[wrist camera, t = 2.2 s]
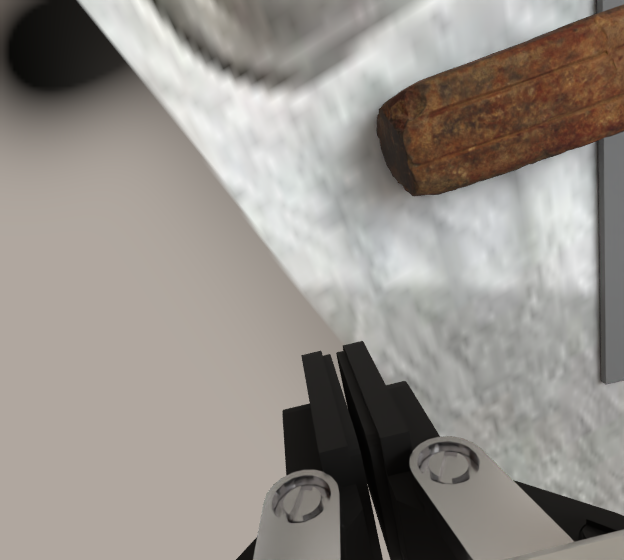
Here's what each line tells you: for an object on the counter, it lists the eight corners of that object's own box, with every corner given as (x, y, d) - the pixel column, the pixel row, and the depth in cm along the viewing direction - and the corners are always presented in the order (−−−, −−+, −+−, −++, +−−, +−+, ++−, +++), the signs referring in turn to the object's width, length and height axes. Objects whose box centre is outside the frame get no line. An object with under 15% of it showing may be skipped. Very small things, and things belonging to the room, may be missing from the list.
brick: (599, 125, 22) (585, 23, 20) (668, 118, 18) (656, -9, 16) (393, 196, 22) (366, 100, 20) (418, 205, 18) (387, 87, 17)
